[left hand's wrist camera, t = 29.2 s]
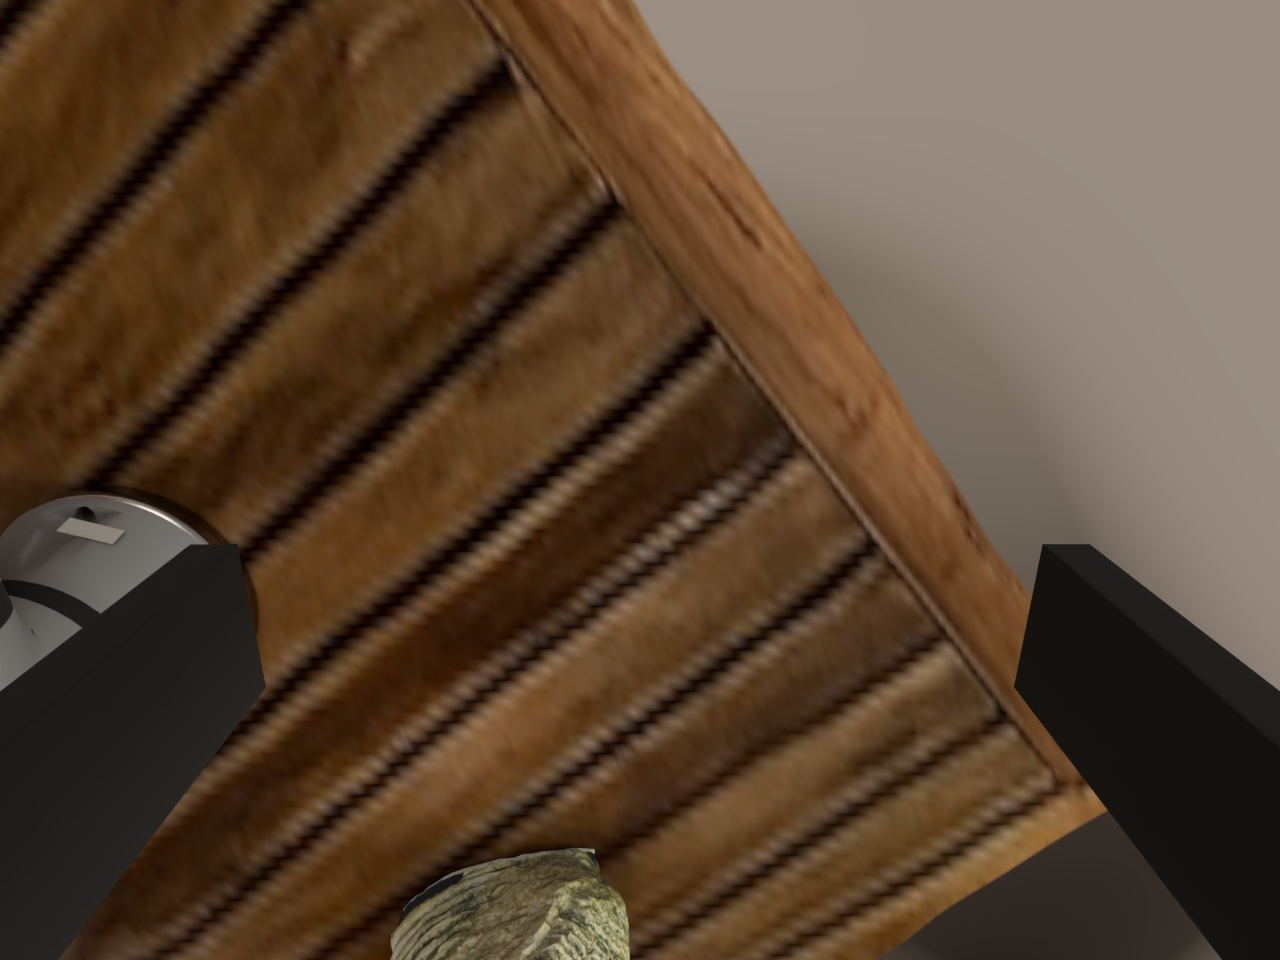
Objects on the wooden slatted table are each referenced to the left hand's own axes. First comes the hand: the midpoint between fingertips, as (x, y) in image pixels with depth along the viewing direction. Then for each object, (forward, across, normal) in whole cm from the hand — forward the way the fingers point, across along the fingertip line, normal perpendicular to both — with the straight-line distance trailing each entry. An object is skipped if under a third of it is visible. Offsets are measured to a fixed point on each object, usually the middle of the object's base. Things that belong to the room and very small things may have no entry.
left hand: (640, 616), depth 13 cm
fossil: (+32, +9, +42) cm, 53 cm away
